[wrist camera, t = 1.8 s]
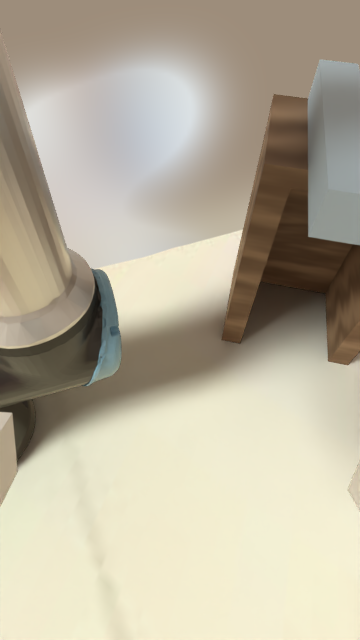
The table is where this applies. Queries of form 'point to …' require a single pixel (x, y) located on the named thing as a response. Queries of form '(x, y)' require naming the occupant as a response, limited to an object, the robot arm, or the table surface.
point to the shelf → (292, 238)
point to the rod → (334, 153)
